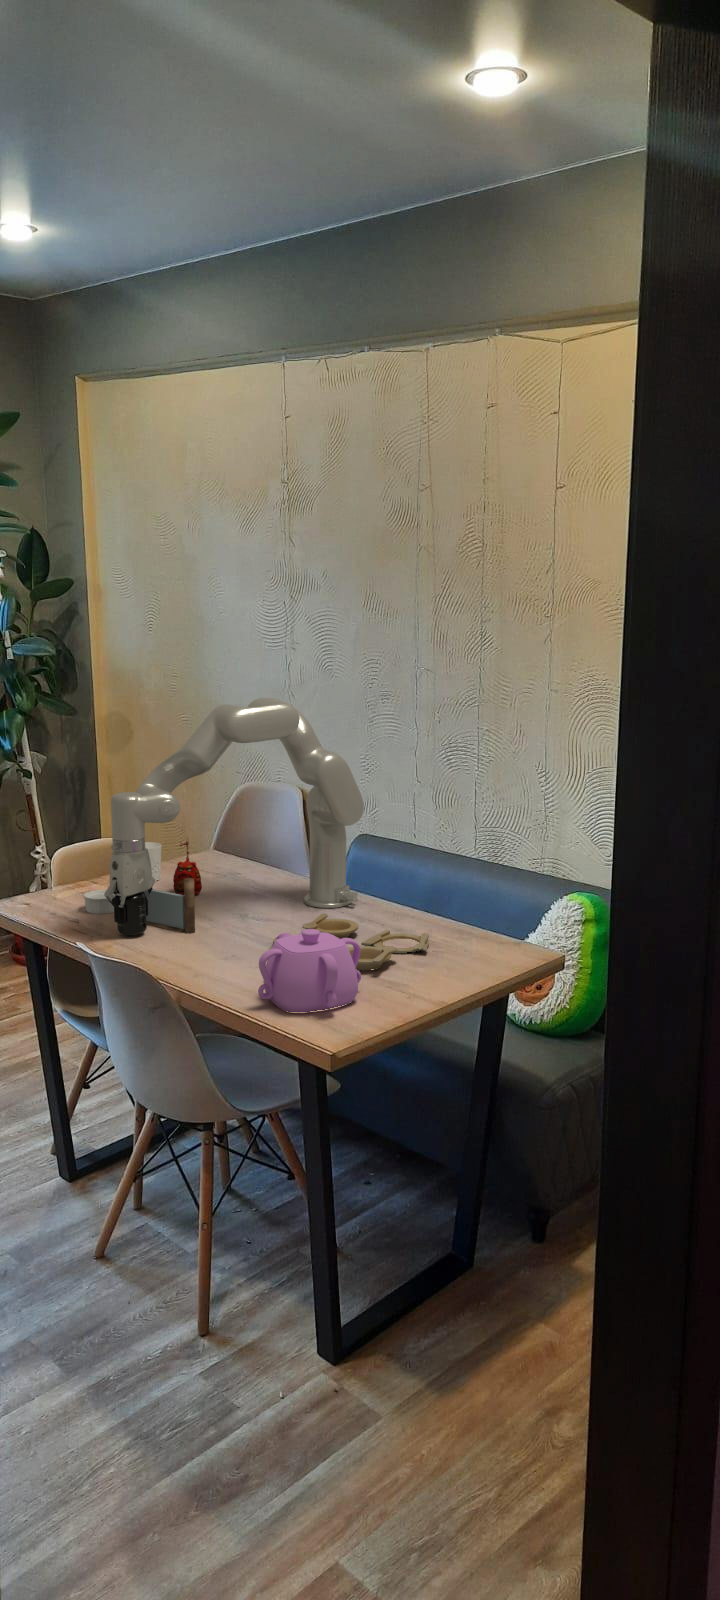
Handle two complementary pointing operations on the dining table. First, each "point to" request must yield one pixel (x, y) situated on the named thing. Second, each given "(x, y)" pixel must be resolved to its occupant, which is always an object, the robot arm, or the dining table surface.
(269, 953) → the purple lidded pot
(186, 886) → the door frame
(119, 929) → the supplement bottle
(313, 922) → the tableware set
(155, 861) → the white cup
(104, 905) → the ramekin
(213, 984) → the dining table surface
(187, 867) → the red clay folk toy
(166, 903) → the door
